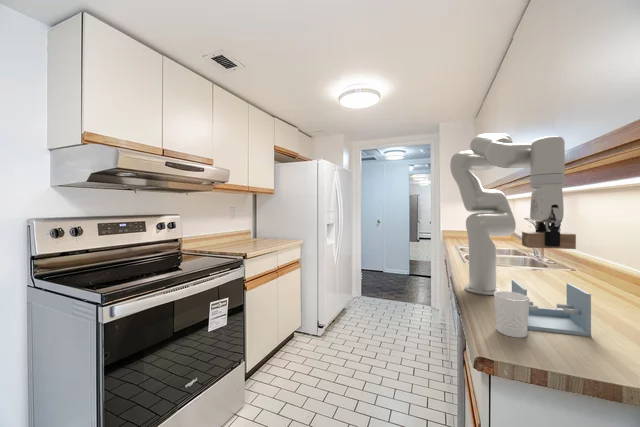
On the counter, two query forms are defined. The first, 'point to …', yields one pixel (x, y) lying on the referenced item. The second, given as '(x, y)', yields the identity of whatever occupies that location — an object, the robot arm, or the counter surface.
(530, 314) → the shelf unit
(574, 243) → the brown box
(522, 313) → the white cup
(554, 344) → the counter surface
